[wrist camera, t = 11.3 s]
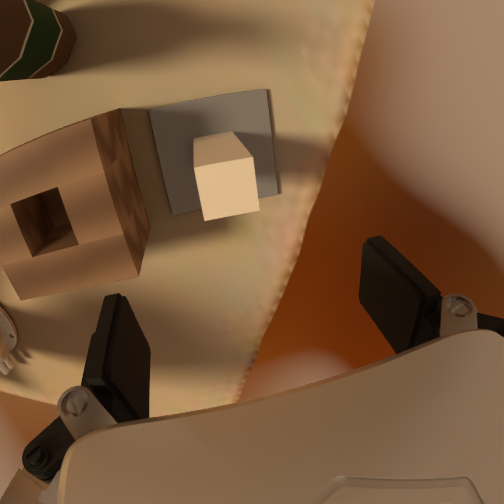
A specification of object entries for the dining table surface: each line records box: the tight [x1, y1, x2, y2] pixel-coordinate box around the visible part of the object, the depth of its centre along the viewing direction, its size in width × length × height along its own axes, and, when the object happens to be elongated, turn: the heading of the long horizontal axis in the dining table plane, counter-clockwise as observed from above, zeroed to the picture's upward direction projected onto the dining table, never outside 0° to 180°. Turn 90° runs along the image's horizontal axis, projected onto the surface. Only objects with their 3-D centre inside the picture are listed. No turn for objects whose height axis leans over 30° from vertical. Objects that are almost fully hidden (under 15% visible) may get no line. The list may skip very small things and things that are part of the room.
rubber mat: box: [149, 89, 278, 215], centre depth 32 cm, size 12×12×1 cm
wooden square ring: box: [0, 108, 150, 300], centre depth 26 cm, size 14×14×10 cm
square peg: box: [193, 131, 260, 221], centre depth 26 cm, size 4×4×12 cm
